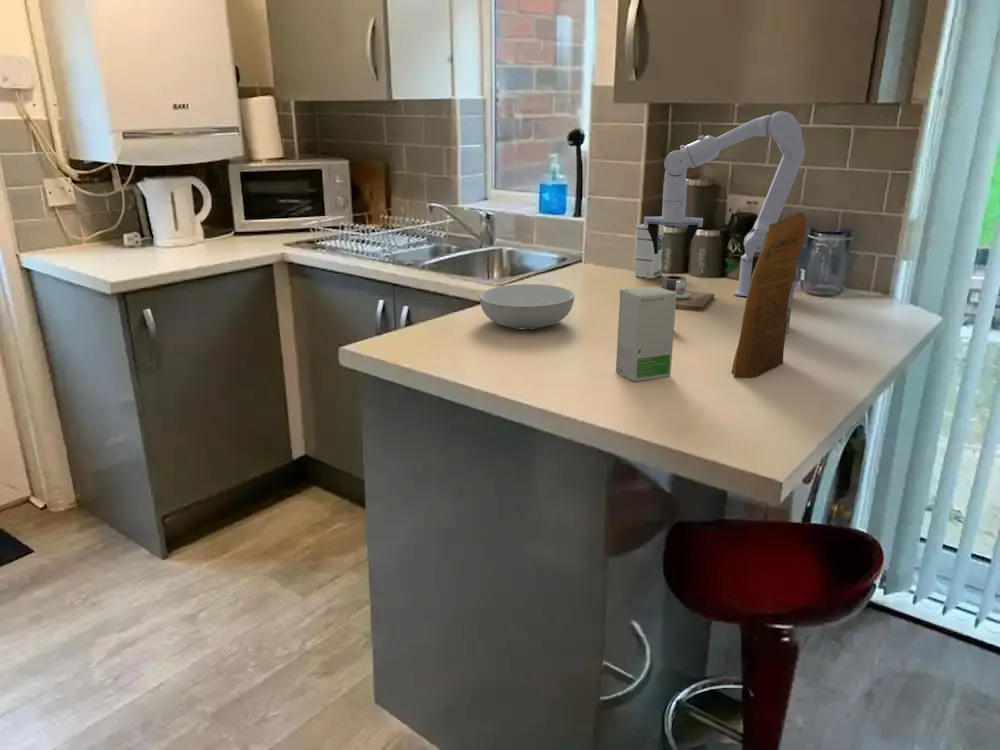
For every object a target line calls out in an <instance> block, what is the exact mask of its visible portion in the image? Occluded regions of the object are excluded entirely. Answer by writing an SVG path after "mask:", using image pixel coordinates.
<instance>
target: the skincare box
mask: <svg viewBox="0 0 1000 750" xmlns="http://www.w3.org/2000/svg"><path fill="white" fill-rule="evenodd" d="M676 294H677V293H676V292H673V291H670V290H666V289H663V288H662V287H659V286H647V287H644V286H643V287H632V288H631V287H629V288H621V289H620V288H619V304H618V307H619V308H618V324H617V342H616V343H617V345H616V358H615V359H616V362H615V373H617V374H619V375H620V374H621V375H620V376H622V375H623V376H622V377H624V378H626V379H627V378H628V380H629V381H632V382H635V383H636V382H640V381H641V382H642V381H649V380H655V379H661V378H669V377H671V374H672V373H671V372H672V360H673V346H674V345H673V344H674V333H675V320H676V319H675V318H676V308H675V307H676Z"/></svg>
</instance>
